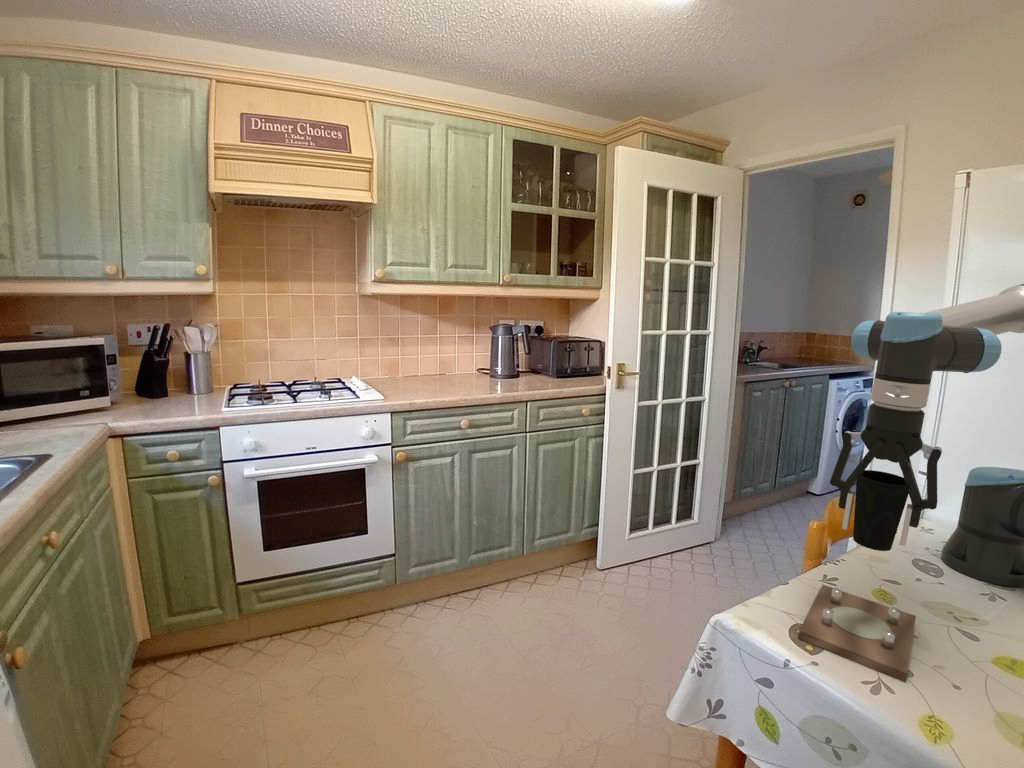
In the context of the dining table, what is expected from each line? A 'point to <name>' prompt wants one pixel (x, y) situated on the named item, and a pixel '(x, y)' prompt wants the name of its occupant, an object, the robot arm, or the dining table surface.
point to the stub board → (860, 631)
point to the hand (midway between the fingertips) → (873, 534)
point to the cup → (878, 508)
